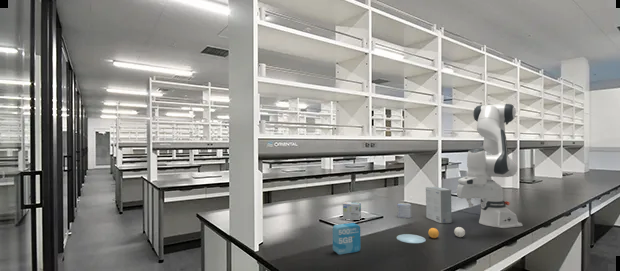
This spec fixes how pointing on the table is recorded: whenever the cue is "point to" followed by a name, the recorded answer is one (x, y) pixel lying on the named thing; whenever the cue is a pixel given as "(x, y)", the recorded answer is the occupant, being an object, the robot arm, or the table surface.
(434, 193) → the hard drive box
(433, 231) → the orange ball
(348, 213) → the light bulb box
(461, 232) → the white ball
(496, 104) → the robot arm
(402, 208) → the medicine box
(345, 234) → the data package
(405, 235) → the blue mark
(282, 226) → the table surface
